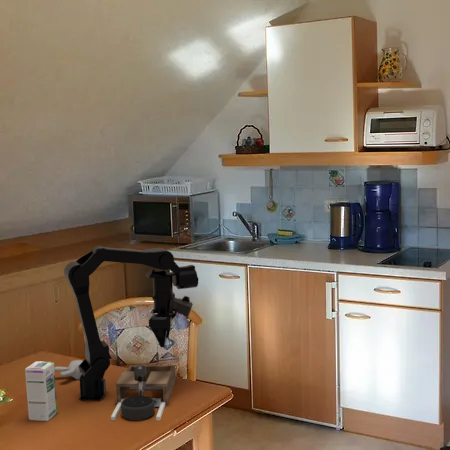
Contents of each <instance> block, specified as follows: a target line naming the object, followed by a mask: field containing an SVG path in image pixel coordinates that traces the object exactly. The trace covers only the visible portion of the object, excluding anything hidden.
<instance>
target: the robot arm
mask: <svg viewBox="0 0 450 450" xmlns="http://www.w3.org/2000/svg"><path fill="white" fill-rule="evenodd" d="M103 262H108V263H109V262H111V263H123V264H135V265H136V264H138V265H144V266H147V267H151V268H150V269H149V271H148V272H146V274H145V276H146V277H147V278H149V279H152V287H153V290H152V291H153V295H152V296H151V297H152V300H153V309H152V315H150V318H149V319H148V327H149V329H150V330H151V331H152V333H153V334H154V336H155V338H156V339H155V340H157V343H158V345H159V346H160V348H165V345H166V339H169V337H170V332H171V329H172V328H171V327H172V325H173V323H172V322H173V320H174V319H175V317H177V315H178V314H180V315H183V316H184V317H189V315H191V314H190V313H191V310H192V308H193V305H194V304H193V302H192V301H191V300H190V296H187V295H184V296H183V297H182V298H181V297H180V298H177V297H176V294H175V292H174V291H173V290H174V289H173V288H174V287H176V289H177V290H186V289H194V288H197V287H198V286H199V277H198V273H197V271H196V266H195V265H193V264H189V265H185V266H179V265H178V264H177V263H176V261H175V257H174V255H173V253H172V252H171V251H169V250H167V249H165V248H162V247H156V248H155V247H153V248H146V249H140V250H139V249H132V248H130V249H129V248H120V247H119V248H116V247H105V246H102V245H97V246H94V247H93V248H92V249H91V250H90V251H88V252H87V253H85V254H84V255H82V256H80V257H79V258H78V259H76V260H75V261H71V262H69V263H67V265H65V267H64V268H63V275H64V278H65V279H66V281H67V284H68V287H69V288H70V289H71V290H70V291H71V292H72V293H73V295H74V300H75V303H76V308H77V312H78V315H79V319H80V323H81V324H80V325H81V328H82V331H83V336H84V341H85V345H84V355H85V358H84V359H83V360H82V363H81V364H80V365H79V366H78V368H79V370H80V372H81V373H82V375H81V376H80V379H79V393H80V394H79V397H78V401H102V399H103V398H104V396H105V395H106V393H107V384H106V382H107V381H106V379H104V376H105V374H106V371H107V370H108V369H109V367H111V360H112V358H113V357H112V356H111V355H110V347H109V344H108V343H107V342H106V341H105V340H104V339H103V340H101V338H100V334H99V330H98V325H97V321H96V317H95V314H94V308H93V305H92V302H91V296H90V276H91V275H92V274H93V273H94V272H95V271H97V269H98V268H99V267H100V266H101V265H102V263H103ZM154 268H155V269H157V270H155V269H154ZM167 270H168V271H169V272H166V271H167Z"/></svg>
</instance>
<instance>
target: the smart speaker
mask: <svg viewBox="0 0 450 450" xmlns="http://www.w3.org/2000/svg"><path fill="white" fill-rule="evenodd" d="M125 398H126V399H125V400H123V401H122V403H121V409H120V413H121V416H122V417H123V418H124V419H126V420H130V421H142V420H146V419H149V418H150V417H152V416H153V415H154V414H155V407H154V400H153V399H152V398H153V397H150V396H146V395H143V396H139V395H133V396H129V397H125Z"/></svg>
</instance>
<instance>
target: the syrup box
mask: <svg viewBox="0 0 450 450" xmlns="http://www.w3.org/2000/svg"><path fill="white" fill-rule="evenodd" d="M54 367H55V363H54V362H53V361H40V360H39V361H37V360H36V361H34V362H32V364H30V365H28V366H27V367H26V368H25V369H24V372H25V386H26V388H25V389H26V400H27V410H28V411H27V413H28V419H29V421H38V422H39V421H40V422H49V421H50V420H51V419H52V418H53V417H55V415H56V414H57V413H59V412H58V402H57V399H58V398H57V388H56V373H55V372H56V371H55V370H54Z"/></svg>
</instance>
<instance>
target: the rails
mask: <svg viewBox="0 0 450 450" xmlns="http://www.w3.org/2000/svg"><path fill="white" fill-rule="evenodd" d="M165 407H166V406H165V402H163V401H161V405H160V407H158V411H157V414H156V416H155V420H156V421H158V422H159V421H161V419H162V416H163V413H164V411H165ZM120 412H121V402H118V404H117V403H116V406H115V409H114V410H113V412H112V414H111V416H110V420H111V421H116V419H117V417H118V415H119V413H120Z"/></svg>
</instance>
